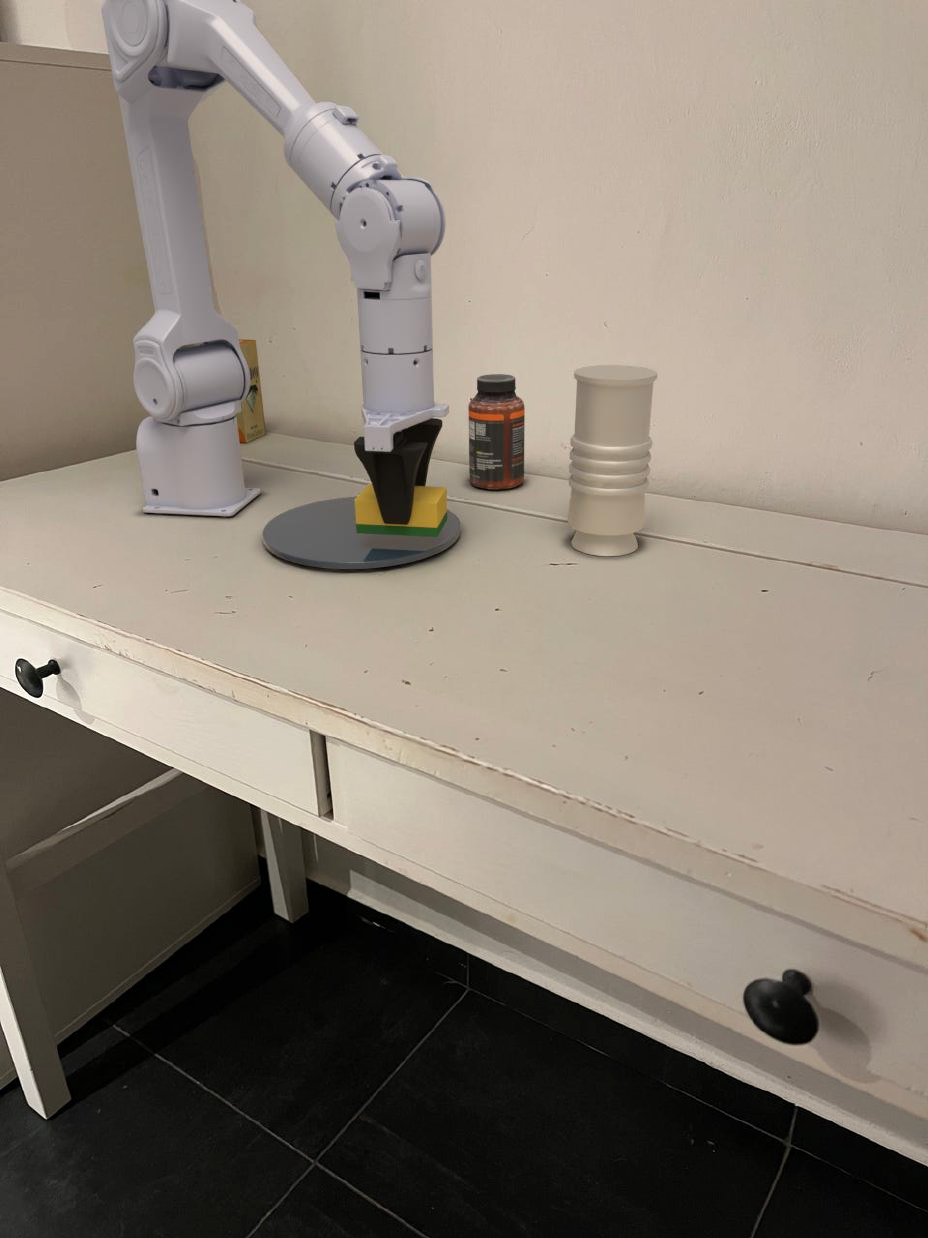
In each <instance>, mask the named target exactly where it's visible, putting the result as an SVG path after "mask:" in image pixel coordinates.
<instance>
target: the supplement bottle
mask: <svg viewBox="0 0 928 1238" xmlns="http://www.w3.org/2000/svg"><path fill="white" fill-rule="evenodd" d="M516 388H517V386H516V377H515V376H514V375H511V374H503V373H494V374H493V373H491V374H490V373H489V374H484V375H479V376H478V377H476V390H477V393H476V394H475V396H474V397H473V398H471V399H470V401H469V403H468V407H467V408H468V409H467V410H468V412H467V413H468V470H469V471H468V474H469V482H470V483H471V484H472V485H473V486H474V487H476V488H480V489H485V490H491V491H493V490H495V491H498V490H508V489H513V488H516V487H518V486H520V485H522V484H523V482H524V479H525V427H526V426H525V420H526V419H525V418H526V417H525V416H526V415H525V412H526V410H525V409H526V408H525V403H524V400H523V399H522V398H521V397H520V396H518V395H517V393H516Z"/></svg>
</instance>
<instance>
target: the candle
mask: <svg viewBox="0 0 928 1238" xmlns="http://www.w3.org/2000/svg"><path fill="white" fill-rule="evenodd" d="M573 378H574V379H575V380H576V392H575V413H574V414H575V418H574V433H573V434H572V435H571V437H570V441H569V442H570V446H571V447H572V448H571V450H570V451H569V459H570V460H571V462H570V463H569V466H568V471H569V473H570V476H569V477H568V486H569V487H570V488H571V490H570V498H569V505H568V513H567V524H568V525H569V526H570V527H571V528H573V529H574V530H576V532H575V533H574V536H573V537H572V539H571V543H570V545H571V546H572V548H574V549H575V550H576V551H578V552H581V553H584V554H587V555H592V556H599V557H618V556H624V555H628V554H631V553H634V552H635V551H637V550H638V548H639V545H638V544H639V543H638V540H637V538H636V535H635V533H637V532H639V531H640V530H642V529H644V527H645V525H646V491H647V490H648V488H649V487H650V481H649V478H648V477H649V476H650V474H651V467H650V465H649V463H650V462H651V461H652V453H651V452H650V450H651V449H652V448H653V440H652V438H651V436H650V430H651V418H652V407H653V406H652V405H653V394H654V393H653V392H654V382H655V381H657V379H658V371H657V370H654V369H652V368H647V367H642V366H636V365H635V366H634V365H622V364H621V365H620V364H616V365H615V364H604V365H603V364H602V365H588V366H583V367H578V368H576V369H575V370H573Z"/></svg>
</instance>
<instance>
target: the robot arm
mask: <svg viewBox="0 0 928 1238" xmlns="http://www.w3.org/2000/svg"><path fill="white" fill-rule="evenodd" d="M100 10H101V15H102V22H103V28H104V33H105V39H106V44H107V51H108V57H109V58H108V59H109V63H110V69H111V76H112V81H113V87H114V91H115V92H116V94H118V102H119V109H120V115H121V119H122V127H123V132H124V137H125V143H126V150H127V155H128V161H129V167H130V168H129V169H130V174H131V180H132V185H133V191H134V196H135V203H136V208H137V214H138V221H139V226H140V232H141V237H142V239H141V240H142V245H143V251H144V255H145V261H146V267H147V268H146V269H147V273H148V279H149V285H150V291H151V297H152V302H153V309H154V314H153V315H152V316H151V318H150V319H149V320H148V321H147V322H146V323H145V324H144V325H143V326H142V327H141V329H140V330H139V331H138V332H137V333H136V334H135V335H134V337H133V339H132V344H133V349H134V357H135V359H134V368H133V374H132V375H133V379H132V380H133V386H134V391H135V395H136V396H137V399H138V401H139V403H140V405H141V406H142V407H143V408H144V409H145V411H146V412H147V413H148V414H149V415H150V416H147V417H145V418H144V419H143V420H142V421H141V422H140V424H139V425H138V428H137V433H136V439H135V440H136V441H135V443H136V444H135V445H136V447H135V448H136V456H137V461H138V467H139V474H140V478H141V479H140V480H141V484H142V491H143V497H144V501H145V505H144V506H143V507H142V512H143V513H146V514H147V513H151V514H167V515H168V514H169V515H170V514H171V515H191V516H211V517H213V516H214V517H233V516H234V515H236V514H237V513H238V512H239V511H241V509H243V508H244V507H245V506H247V505H248V504H249V503H250V502H251V501H253V500H254V499H255V498H256V497H257V496H259V495H260V494H261V488H258V487H256V488H255V487H246V484H245V477H244V468H243V459H242V451H241V443H240V442H239V434H238V425H237V417H236V414H237V413H239V412H242V409H241V402H242V401H243V400H244V399H245V398H246V397H247V395H248V392H249V388H250V372H249V368H248V365H247V362H246V360H245V358H244V356H243V353H242V351H241V348H240V345H239V340H238V339H239V333H238V330H237V328H236V327H235V326H234V325H233V324H231V323H230V322H229V321H228V320H226V319H225V318H224V317H223V316H222V315H221V314H220V313H218V312H217V311H216V310H215V304H214V303H215V302H214V296H213V289H212V283H211V275H210V270H209V268H210V267H209V261H208V254H207V247H206V239H205V233H204V226H203V219H202V213H201V206H200V205H201V204H200V198H199V191H198V185H197V184H198V183H197V176H196V172H195V171H196V169H195V162H194V156H193V148H192V141H191V135H190V128H189V119H190V118H191V116H192V115H193V113H194V112H195V110H196V108H197V107H198V105H199V104H201V103H203V102H205V101H206V100H207V99H209V97H211V96H212V95H213V94H214V93H215V92H217V91H218V90H219V89H220V88H222V86H224V85H225V84H226V83H228V84H229V85H230V86H231V87H232V88H233V89H234V90H235V91H236V92H237V93H238V94H239V95H240V96H241V97H242V98H243V99H244V100H245V101H246V102H247V103H249V105H250V106H251V107H252V108H254V109H255V110H256V111H257V112H258V114H260V115H261V116H262V117H263V118H264V120H266V121H267V123H268V124H270V125H271V127H273V129H274V130H276V131H277V132H278V133H279V134H280V135H281V136H282V137H283V138H284V139H283V155H284V159H285V162H286V163H287V165H288V167H289V168H291V170H292V171H293V172H294V173H295V175H297V176H298V178H299V179H300V180H301V181H302V182H303V183H304V185H305V186H306V187H307V188H308V189H309V190H310V192H312V194H313V195H314V196H315V197H316V198H317V199H318V200H319V202H320V203H321V204H322V205H323V206H324V207H325V208H326V209H327V210H328V211H329V213H330V214H331V215H332V216H333V217H334V218H335V220H337V221H335V223H334V225H335V232H336V233H335V234H336V237H337V240H338V243H339V245H340V247H341V249H342V251H343V252H344V254H345V256H346V257H347V260H348V262H349V267H350V280H351V282H352V281H353V284H354V287H355V289H356V294H357V298H356V299H357V314H358V332H359V349H360V351H359V352H360V365H361V385H362V401H363V403H362V405H361V407H360V409H361V411H360V412H361V418H362V420H363V424H364V425H363V436H358V438H357V439H355V440H354V442H353V449H354V453H355V455H356V457H357V458H358V460H359V461H360V462H361V464H362V465H363V467H364V469H365V472H366V473H367V475H368V478H369V480H370V484H372V485H373V488H374V492H375V495H376V499H377V502H378V506H379V509H380V513H381V516H382V519H383V521H384V523H385V524H401V525H407V524H408V523H409V521H410V517H411V513H412V507H413V498H414V488H415V486H427V485H426V484H427V478H428V473H429V467H430V461H431V457H432V454H433V451H434V447H435V444H436V442H437V439H438V436H439V435H440V433H441V431H442V428H443V420H442V419H440V418H445V417H447V416H448V415H449V413H450V409H449V408H450V406H449V403H437V402H435V392H434V391H435V388H434V386H435V385H434V339H433V337H434V336H433V333H434V332H433V330H434V329H433V296H432V294H433V290H432V256H433V255H434V254H435V253H437V251H438V250H439V248H440V247H441V245H442V242H443V240H444V237H445V234H446V233H445V232H446V223H447V222H446V212H445V208H444V205H443V202H442V200H441V198H440V196H439V195H438V194H437V192H436V191H435V189H434V187H433V184H432V183H431V182H430V181H429V180H426V179H425V178H421V177H415V176H405V175H404V174H403V173H402V172H400V171H399V170H398V167H399V163H398V162H397V161H396V160H395V159H394V157H393V156H392V155H390V154H384V153H383V152H382V151H381V150H380V149H379V148H378V147H377V145H375V143H374V142H373V141H372V140H371V139H370V138H369V137H368V135H366V133H364V131H363V130H362V129H361V128H360V126H359V125H357V124H358V122H359V119H360V117H359V115H358V113H356V112H355V111H354V109H352V108H351V106H347V105H339V104H337V103H335V102H332V101H321V102H320V101H319V102H316V101H315V100H314V99H313V98H312V96H311V95H310V93H309V92H308V91H307V89H306V88H305V87H304V86H303V85H302V84H301V82H300V81H299V80H298V79H297V77H296V76H295V75H294V73H293V72H292V70H290V68H289V67H288V66H287V65H286V63H285V62H284V61H283V59H282V58H281V57H280V56H279V55H278V53H277V52H276V51H275V50H274V48H273V47H272V46H271V44H270V43H269V41H268V40H267V39H266V38H265V37H264V36H263V34H262V32H260V30H259V29H258V27H257V18H256V13H255V11H254V10H253V9H251V8H250V7H248V6H247V5H246V4H244V3H243V2H242V0H104V2H103V4H102V6H101V9H100ZM202 343H203V344H202ZM197 344H198V345H197ZM200 344H202V345H200ZM188 345H189V346H188ZM190 345H191V346H190Z"/></svg>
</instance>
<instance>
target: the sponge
mask: <svg viewBox="0 0 928 1238" xmlns="http://www.w3.org/2000/svg"><path fill="white" fill-rule="evenodd" d="M447 492H448V489H447V486H433V485H432V486H431V485H429V486H428V485H426V486H415V488H414V498H413V507H412V513H411V517H410V521H409V523H408V524H407V525H401V524H385V523H384V521H383V519H382V516H381V513H380V509H379V506H378V502H377V499H376V495H375V492H374V488H373V485H372V483H368V484H367V485H366V486H365V487H364V488H363V490H361V492H359V494H358V495H357V496H355V497H356V498H355V515H356V533H363V534H383V535H404V536H424V537H438V535H439V534H440V532H441V530H442V528H443V526H444V525H445V523H446V521H447V509H448V493H447Z"/></svg>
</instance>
